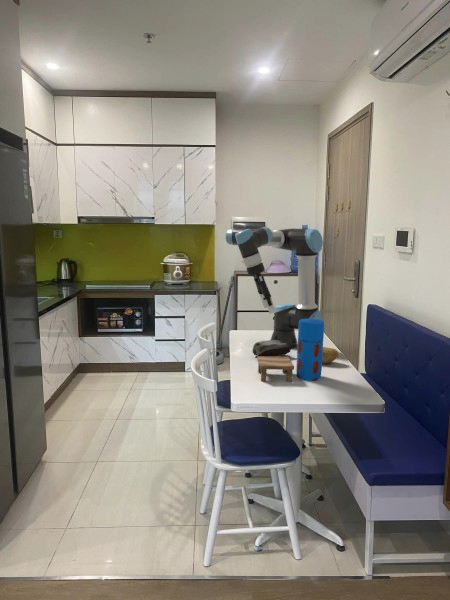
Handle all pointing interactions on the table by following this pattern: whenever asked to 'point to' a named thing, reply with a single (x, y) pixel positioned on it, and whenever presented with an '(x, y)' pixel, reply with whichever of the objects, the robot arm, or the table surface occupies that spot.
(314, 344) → the thermos
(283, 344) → the rock
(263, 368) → the small wooden stool
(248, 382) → the table surface
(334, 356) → the potato
